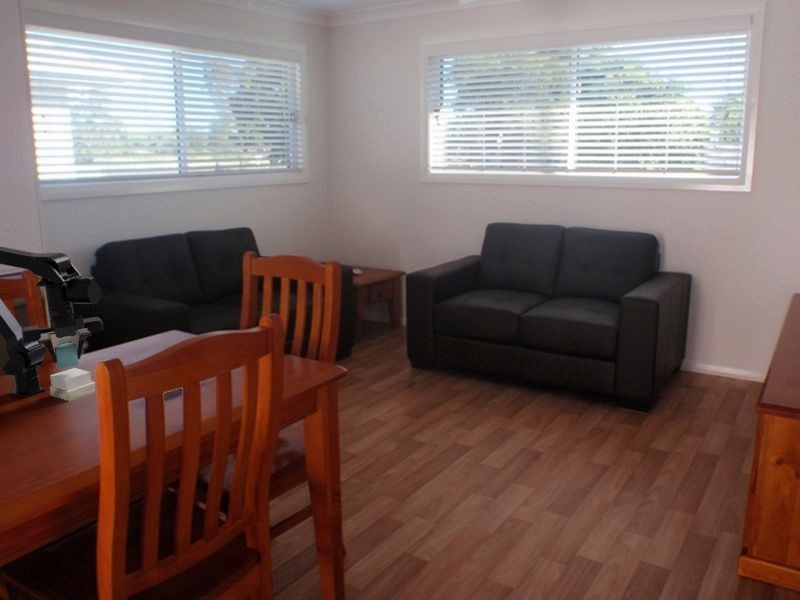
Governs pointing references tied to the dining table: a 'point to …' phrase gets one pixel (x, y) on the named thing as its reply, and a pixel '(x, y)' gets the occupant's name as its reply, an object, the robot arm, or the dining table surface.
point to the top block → (71, 379)
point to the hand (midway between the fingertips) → (67, 360)
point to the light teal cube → (66, 355)
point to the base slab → (73, 392)
